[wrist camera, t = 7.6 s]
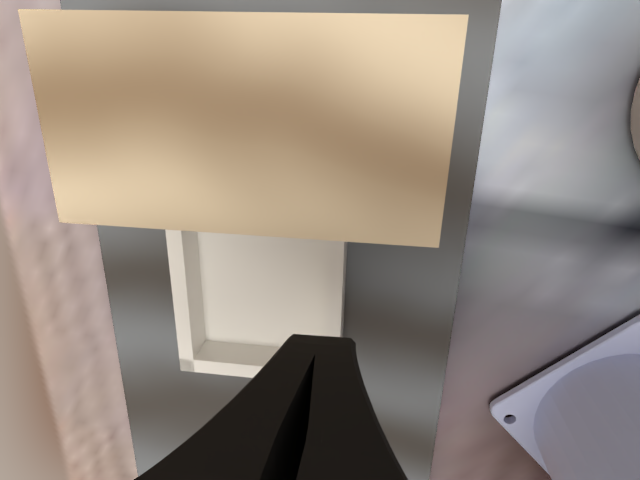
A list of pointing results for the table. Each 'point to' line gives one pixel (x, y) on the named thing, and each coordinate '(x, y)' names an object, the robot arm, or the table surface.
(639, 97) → the coffee cup
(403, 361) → the overhang board
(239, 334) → the tray shell
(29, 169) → the table surface
